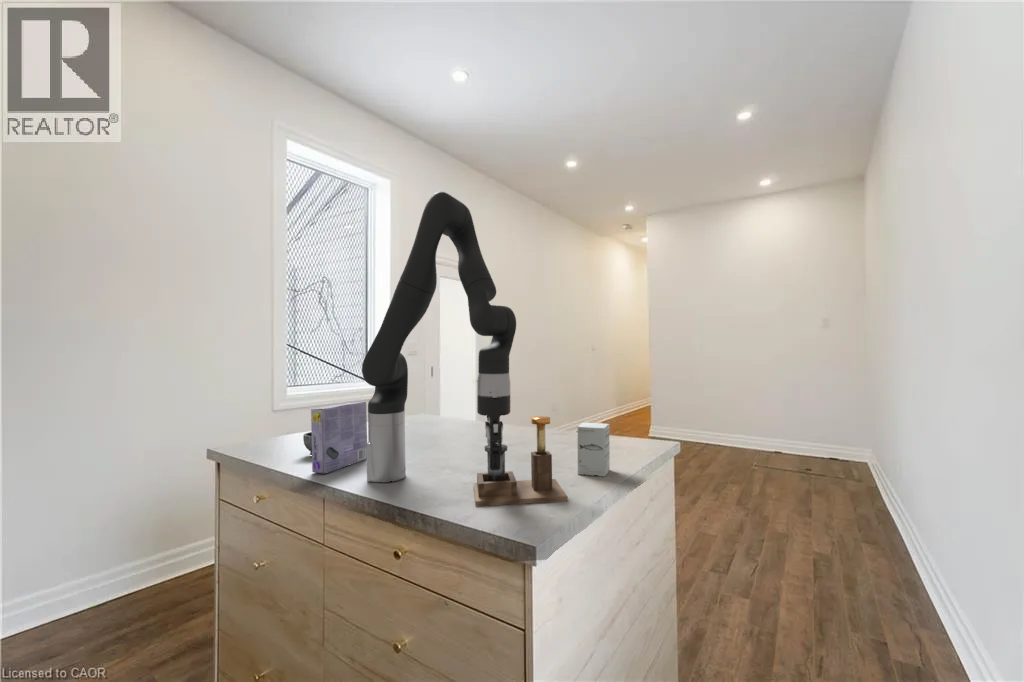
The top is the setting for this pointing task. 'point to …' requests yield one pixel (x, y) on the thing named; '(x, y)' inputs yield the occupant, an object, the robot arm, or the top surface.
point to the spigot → (500, 474)
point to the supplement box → (593, 449)
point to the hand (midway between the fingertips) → (493, 464)
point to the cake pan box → (338, 436)
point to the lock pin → (540, 432)
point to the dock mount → (521, 486)
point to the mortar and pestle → (308, 441)
